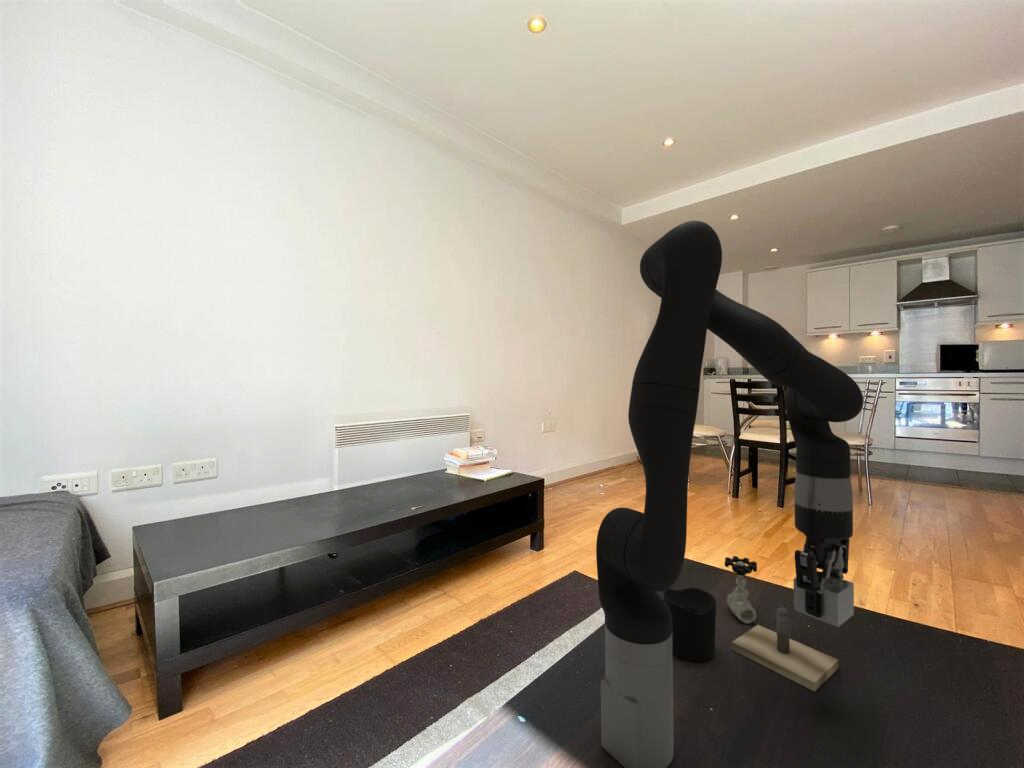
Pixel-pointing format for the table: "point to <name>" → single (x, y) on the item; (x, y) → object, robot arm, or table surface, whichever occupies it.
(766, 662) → the shaft stand
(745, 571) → the valve
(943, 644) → the table surface
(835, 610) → the block
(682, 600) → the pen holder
